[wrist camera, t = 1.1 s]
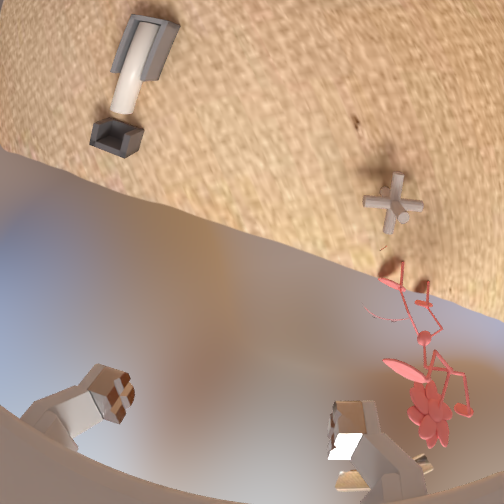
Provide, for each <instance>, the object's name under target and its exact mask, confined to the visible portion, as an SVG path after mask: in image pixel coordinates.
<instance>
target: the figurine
mask: <svg viewBox="0 0 504 504" xmlns="http://www.w3.org/2000/svg"><path fill="white" fill-rule="evenodd" d="M384 248H385V247H384ZM384 248H383V249H384ZM381 250H382V249H381ZM381 250H380V251H381ZM403 273H404V262H402V264H401V277H400V284H398V283H396V282H394V281H392V280H389V279H386V278H381V279H379V278H378V280H379V281H381V282H383V283H384V284H386V285H388V286H390V287H392V288H394V289H396V290H399V291H400V293H401V296H402V299H403V302H404V305H405V307H406V310H407V313H408V315H409V317H410V320H411V322H412V324H413V326H414V328H415V331H416V333H417V335H418V337H417V341H418V343H419V344H420V345H422V346H423V348H424V368H426V369H428V374H427V376H426V377H425V375H424V374H423V373H421V372H420V371H419V370H417V369H416V368H414V367H413V366H411V365H408V364H407V363H405V362H402V361H399V360H396V359H383V360H382V361H383V362H384V363H386V364H387V365H388V366H389V367H391V368H392V369H393V370H394V371H395V372H397V373H399V374H400V375H402V376H404V377H405V378H408V379H410V380H412V381H414V388H411V389H410V396H411V399H412V401H413V403H414V405H415V406H412V407H410V408H409V409H408V410H407V414H408V416H409V418H410V419H411V421H413V422H414V423H415V424H417V425H419V426H420V427H419V436H420V437H421V438H422V439H426V442H427V445H428V447H429V448H432V447H433V446H434V445H435V444H436V441H437V439H438V438H439V440H440V442H441V444H442V445H443V447H447V445H448V435H449V428H448V424H447V422H446V420H449V419H451V418H452V411H451V409H450V408H449V407H448V406H447V405H446V404H445V403H444V402H443V399H444V395H445V392H446V389H447V385H448V381H449V377H450V374H456V375H462V376H463V380H464V386H465V393H466V401H467V406H466V405H463V404H461V403H457V404H456V405H455V406H454V411H455V412H457V413H458V414H460V415H462V416H467V417H468V418H470V417H471V416H472V415H473V412H474V411H473V409H472V408H470V403H469V395H468V387H467V381H466V376H464V375H465V373H463V372H456V371H453V368H452V367H450V366H449V365H448V364H447V363H446V361H445V360H444V359H443V358H442V356H441V355H440V354H439V353H438V352H437V350H434V351H433V356H432V360H431V363H430V366H427V361H426V349H425V346H426V345H427V344H429V343H430V341H431V337H432V336H434V335H435V334H437V333H438V332H440V331H441V330H443V328H442V326H441V325H440V323H439V322H438V321H437V319H436V318H435V316H434V315H433V313H432V312H431V311H430V309H429V307H432V306H433V305H432V304H431V303H429V284H430V281H427V299H426V302H425V301H421V300H416V301H415V304H417V305H420V306H423V307H425V308H427V309H428V310H429V312H430V313H431V315H432V316H433V318H434V319H435V321H436V322H437V324H438V325H439V327H440V328H441V329H440V330H439V331H437V332H435V333H434V334H432V335H431V334H430V333H429V332H428V331H422V332H420V333H418V331H417V328H416V326H415V324H414V322H413V319H412V317H411V315H410V313H409V310H408V307H407V304H406V301H405V299H404V296H403V293H402V291H404V292H405V290H406V289H405V288H404V287H403V286H402V285H403ZM379 318H380V317H379ZM401 320H403V319H401ZM436 356H437V357H438V358H439V359H440V360H441V362H442V363H443V364H444V365H445V367H446V368H439V367H433V365H434V361H435V357H436ZM432 370H438V371H447V377H446V381H445V384H444V389H443V392H442V395H440V394H438V392H437V388H436V385H435V383H434V381H433V380H431V377H430V376H431V372H432ZM424 382H427V385H426V388H424V387H423V385H422V383H424Z"/></svg>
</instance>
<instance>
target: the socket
mask: <svg viewBox="0 0 504 504" xmlns="http://www.w3.org/2000/svg"><path fill="white" fill-rule="evenodd" d="M143 133H144V130H143V129H141V128H138V127H135V126H132V125H129V124H127V123H124V122H121V121H118V120H115V119H112V118H107V119H104V120H101V121H98V122H95V123H94V124H93V129H92V134H91V139H90V144H89V145H91V146H94V147H97V148H99V149H102V150H104V151H107V152H109V153H112V154H115V155H117V156H120V157H122V158H127V157H128V156H130V155H132V154H133V153H135V152H137V151H138V150H139V147H140V143H141V140H142V136H143Z"/></svg>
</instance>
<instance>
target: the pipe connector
mask: <svg viewBox="0 0 504 504" xmlns="http://www.w3.org/2000/svg"><path fill="white" fill-rule="evenodd" d="M403 180H404V174H403V173H401V172H398V171H394V172H393V176H392V182H391V189H389V188H388V187H383V188H381V190H380V194H381V196H382V197H381V196H369V195H364V196H363V207H371V208H384V209H387V212H386V217H385V222H384V227H383V232H384V233H386V234H393V231H394V227H395V222H396V218H397V220H398V221H399V222H400V223H401V224H405V223H407V222H408V220H409V214H408V213H407V211H417V212H422V210H423V202H422V201H420V200H411V199H402V198H400V197H401V192H402V186H403ZM406 210H407V211H406Z"/></svg>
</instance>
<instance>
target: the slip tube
mask: <svg viewBox="0 0 504 504" xmlns="http://www.w3.org/2000/svg"><path fill="white" fill-rule="evenodd" d="M159 29H160V26H159V25H155V24H151V23H146V22H139V25H138V27H137V29H136V32H135V34H134V37H133V39H132V42H131V45H130V47H129V50H128V53H127V55H126V58H125V61H124V64H123V67H122V70H121V73H120V76H119V79H118V82H117V85H116V89H115V92H114V96H113V99H112V103H111V106H110V110H111V111H113V112H116V113H120V114H132V113H133V110H134V107H135V104H136V101H137V98H138V94H139V91H140V88H141V85H142V83H143V81H141V80H140V77H141V75H142V72H143V69H144V66H145V63H146V61H147V58H148V56H149V53H150V50H151V48H152V45H153V43H154V40H155V38H156V36H157V33H158V31H159Z"/></svg>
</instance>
